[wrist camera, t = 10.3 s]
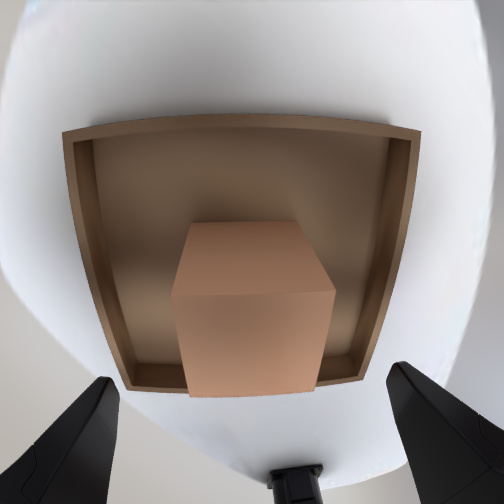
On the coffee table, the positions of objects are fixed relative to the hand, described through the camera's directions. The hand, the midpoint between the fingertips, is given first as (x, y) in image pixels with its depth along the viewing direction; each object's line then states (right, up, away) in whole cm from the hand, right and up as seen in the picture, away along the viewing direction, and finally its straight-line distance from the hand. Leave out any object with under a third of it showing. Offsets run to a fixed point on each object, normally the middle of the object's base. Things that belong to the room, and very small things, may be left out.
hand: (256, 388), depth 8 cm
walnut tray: (-1, +3, +7) cm, 8 cm away
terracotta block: (-1, +3, +7) cm, 8 cm away
